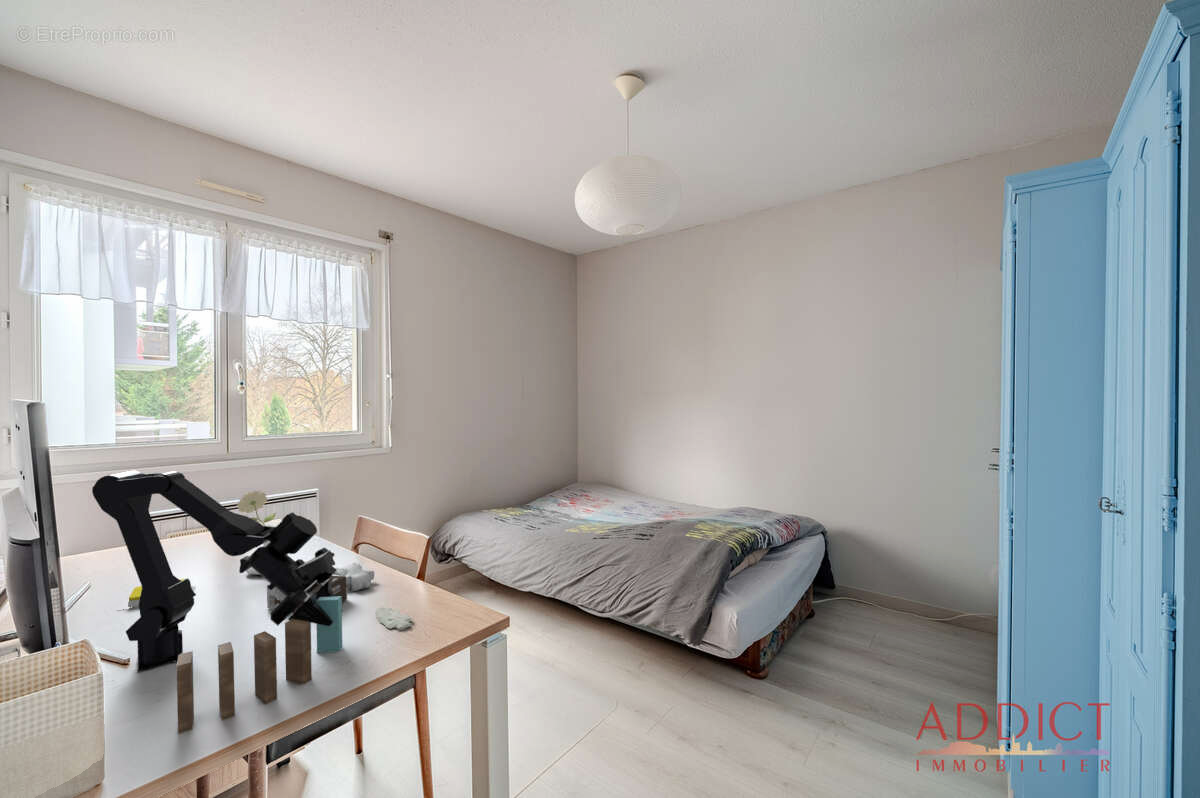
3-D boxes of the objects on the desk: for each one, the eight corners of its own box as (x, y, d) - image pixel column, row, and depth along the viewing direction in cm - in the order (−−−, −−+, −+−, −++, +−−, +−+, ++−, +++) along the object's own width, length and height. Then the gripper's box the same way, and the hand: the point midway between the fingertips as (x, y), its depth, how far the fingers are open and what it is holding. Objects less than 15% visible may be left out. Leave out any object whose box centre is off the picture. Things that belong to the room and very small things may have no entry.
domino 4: (303, 684, 95) (302, 626, 95) (285, 680, 96) (284, 622, 96) (311, 679, 97) (310, 622, 96) (294, 675, 98) (293, 618, 98)
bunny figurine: (346, 582, 135) (324, 563, 145) (345, 600, 135) (324, 580, 145) (381, 572, 142) (358, 554, 152) (380, 590, 142) (358, 571, 152)
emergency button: (192, 582, 135) (115, 596, 127) (192, 599, 135) (116, 613, 127) (195, 572, 143) (123, 584, 134) (195, 587, 143) (123, 600, 134)
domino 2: (221, 720, 85) (220, 655, 84) (219, 708, 88) (217, 645, 88) (234, 715, 86) (233, 651, 86) (232, 703, 89) (230, 641, 89)
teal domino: (339, 651, 107) (338, 599, 107) (317, 652, 106) (316, 600, 106) (342, 647, 109) (341, 596, 108) (320, 648, 108) (319, 597, 108)
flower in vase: (288, 562, 162) (286, 484, 162) (291, 572, 153) (290, 490, 152) (237, 571, 154) (236, 489, 154) (238, 582, 145) (237, 495, 145)
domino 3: (265, 704, 89) (264, 642, 89) (255, 695, 92) (253, 635, 91) (277, 698, 90) (275, 637, 90) (266, 690, 93) (264, 631, 93)
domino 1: (178, 733, 81) (176, 665, 81) (180, 719, 85) (178, 654, 85) (192, 729, 82) (190, 662, 82) (193, 715, 86) (192, 651, 86)
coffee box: (293, 571, 136) (347, 575, 133) (294, 595, 136) (348, 599, 133) (265, 584, 127) (322, 588, 124) (266, 610, 127) (323, 614, 124)
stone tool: (419, 628, 119) (389, 607, 129) (418, 619, 118) (388, 599, 128) (395, 638, 114) (366, 616, 124) (395, 629, 114) (365, 607, 124)
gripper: (286, 555, 97) (348, 609, 99) (326, 528, 116) (377, 574, 117) (242, 598, 96) (305, 652, 98) (290, 564, 115) (342, 610, 117)
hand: (336, 618), depth 107 cm, fingers open, 5 cm apart
